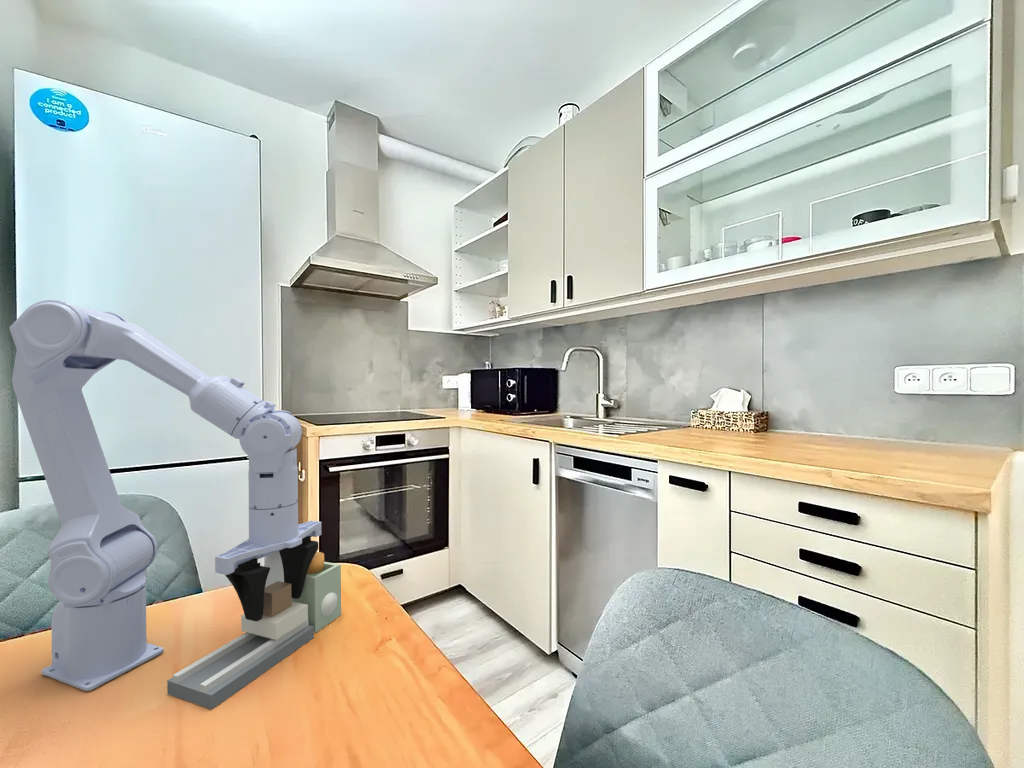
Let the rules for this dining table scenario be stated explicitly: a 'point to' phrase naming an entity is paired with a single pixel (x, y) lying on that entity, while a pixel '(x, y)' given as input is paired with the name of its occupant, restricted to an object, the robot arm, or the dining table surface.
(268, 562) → the flask
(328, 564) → the cabinet
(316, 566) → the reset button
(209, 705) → the rail track
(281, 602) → the carriage
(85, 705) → the dining table surface
